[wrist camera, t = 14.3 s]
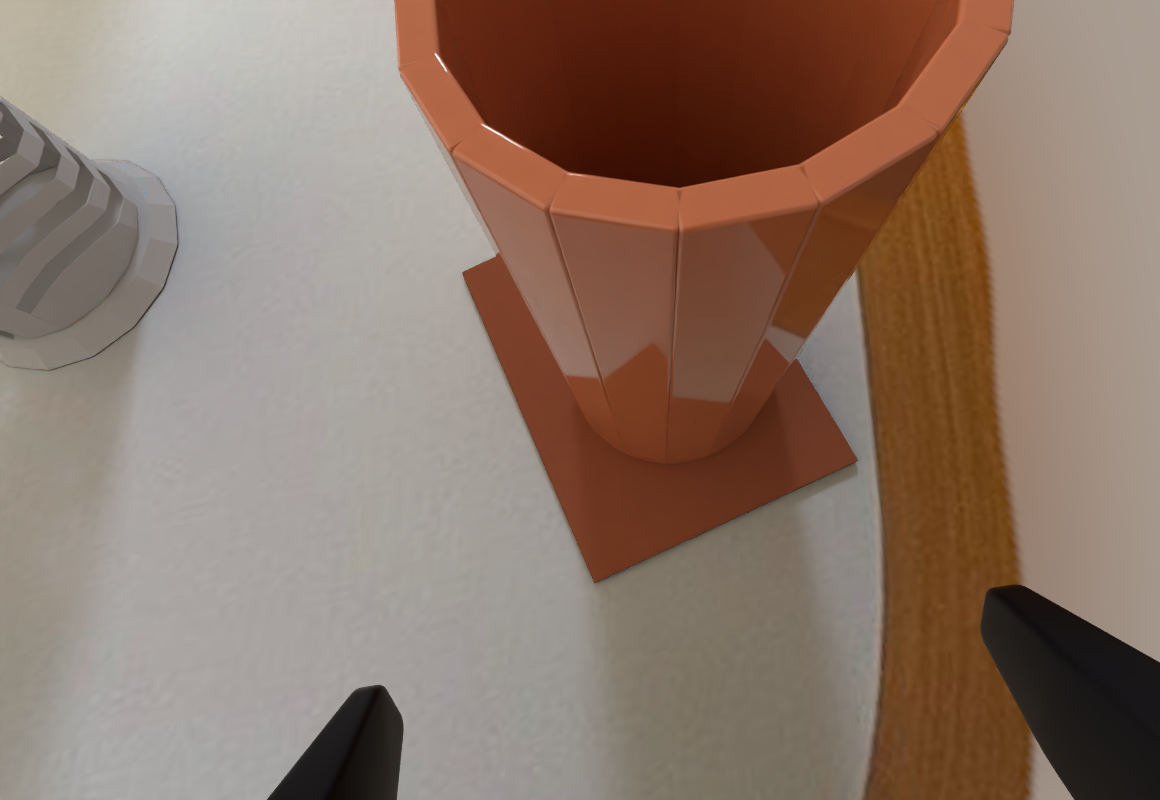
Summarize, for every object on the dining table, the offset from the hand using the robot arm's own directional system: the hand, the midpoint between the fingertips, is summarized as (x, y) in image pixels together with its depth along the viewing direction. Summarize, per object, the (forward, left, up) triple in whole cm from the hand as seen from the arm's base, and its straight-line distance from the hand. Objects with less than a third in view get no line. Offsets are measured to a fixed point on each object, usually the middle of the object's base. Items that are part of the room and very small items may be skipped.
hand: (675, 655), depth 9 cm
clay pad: (+8, -3, -10) cm, 13 cm away
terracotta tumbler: (+7, -3, -9) cm, 12 cm away
